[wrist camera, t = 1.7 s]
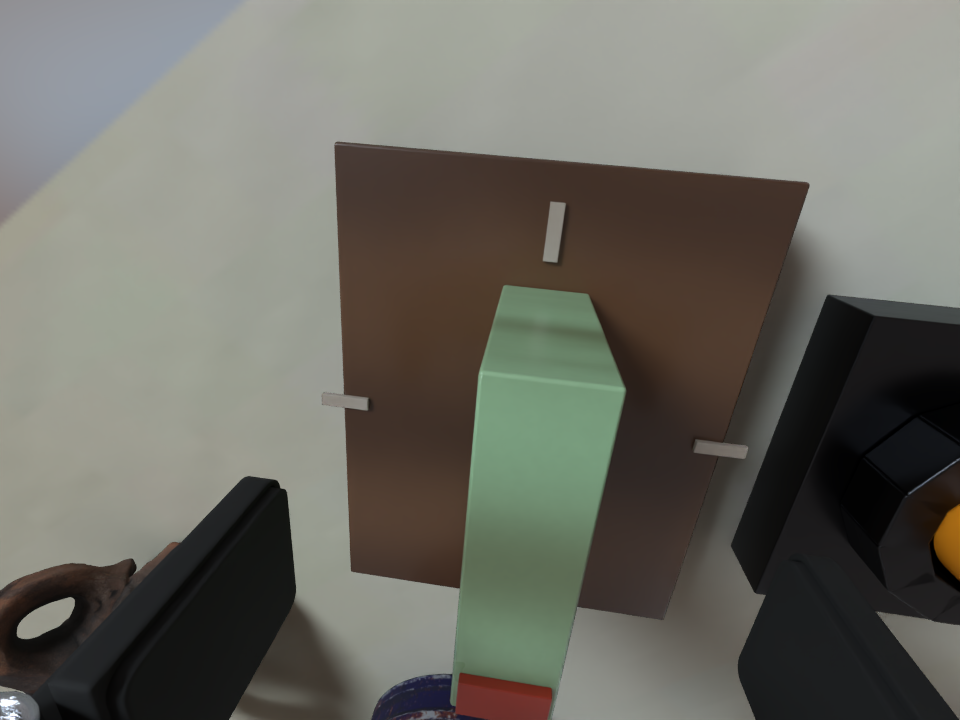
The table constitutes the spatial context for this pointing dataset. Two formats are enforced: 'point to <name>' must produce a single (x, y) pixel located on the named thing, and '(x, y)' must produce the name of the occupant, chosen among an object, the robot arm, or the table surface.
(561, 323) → the pale green flat block
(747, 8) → the table surface
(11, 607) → the pottery mug
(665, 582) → the base
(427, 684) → the storage jar
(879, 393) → the button block
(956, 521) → the button
